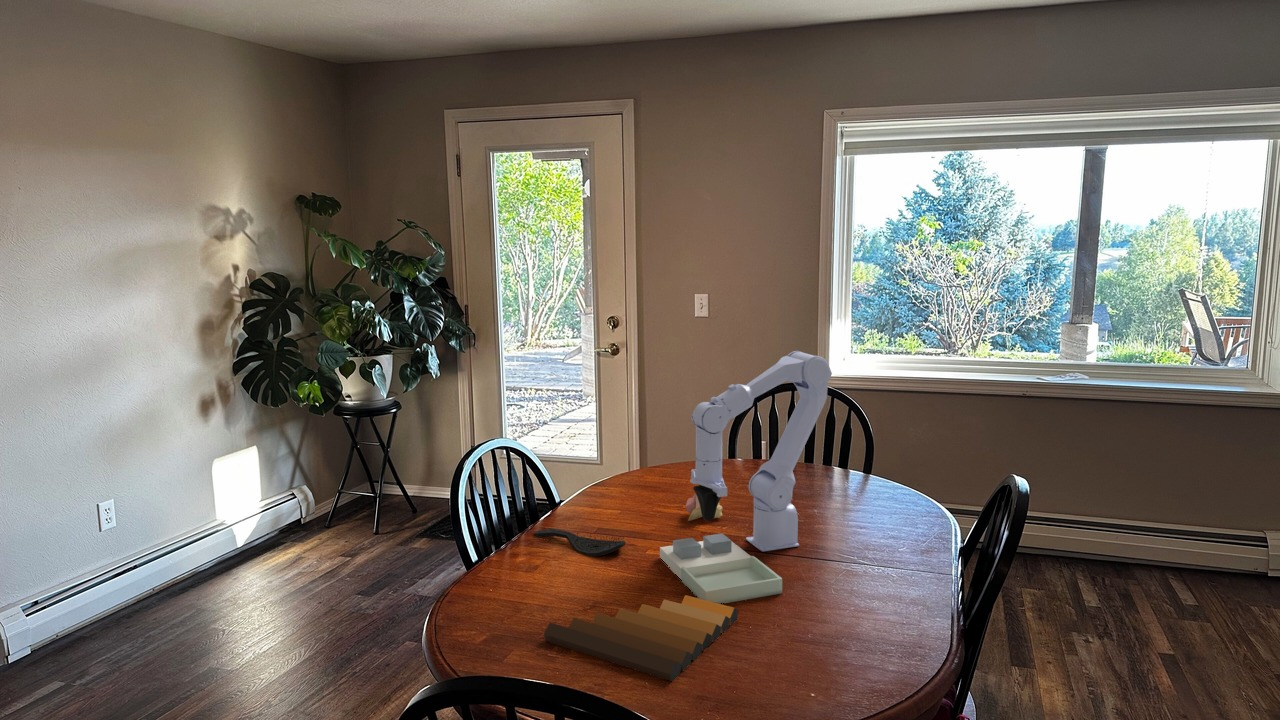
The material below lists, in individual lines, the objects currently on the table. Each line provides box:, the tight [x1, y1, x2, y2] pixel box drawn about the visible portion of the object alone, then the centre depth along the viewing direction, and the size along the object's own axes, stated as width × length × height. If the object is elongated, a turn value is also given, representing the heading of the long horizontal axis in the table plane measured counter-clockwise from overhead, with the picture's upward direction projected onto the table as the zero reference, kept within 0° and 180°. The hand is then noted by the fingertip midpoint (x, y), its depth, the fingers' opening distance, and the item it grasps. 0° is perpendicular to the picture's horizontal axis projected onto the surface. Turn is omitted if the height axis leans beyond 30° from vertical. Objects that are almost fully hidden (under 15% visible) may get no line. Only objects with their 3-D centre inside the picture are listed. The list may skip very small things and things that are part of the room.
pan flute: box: [543, 594, 739, 682], centre depth 141 cm, size 25×3×25 cm
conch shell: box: [685, 492, 723, 522], centre depth 197 cm, size 9×10×10 cm
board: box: [659, 540, 752, 580], centre depth 170 cm, size 16×12×2 cm
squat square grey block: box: [702, 533, 733, 555], centre depth 171 cm, size 4×4×2 cm
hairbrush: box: [533, 528, 626, 557], centre depth 181 cm, size 8×4×25 cm
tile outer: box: [672, 537, 701, 560], centre depth 169 cm, size 4×4×2 cm
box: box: [680, 555, 783, 605], centre depth 158 cm, size 16×12×3 cm
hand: (708, 519), depth 174 cm, fingers closed
